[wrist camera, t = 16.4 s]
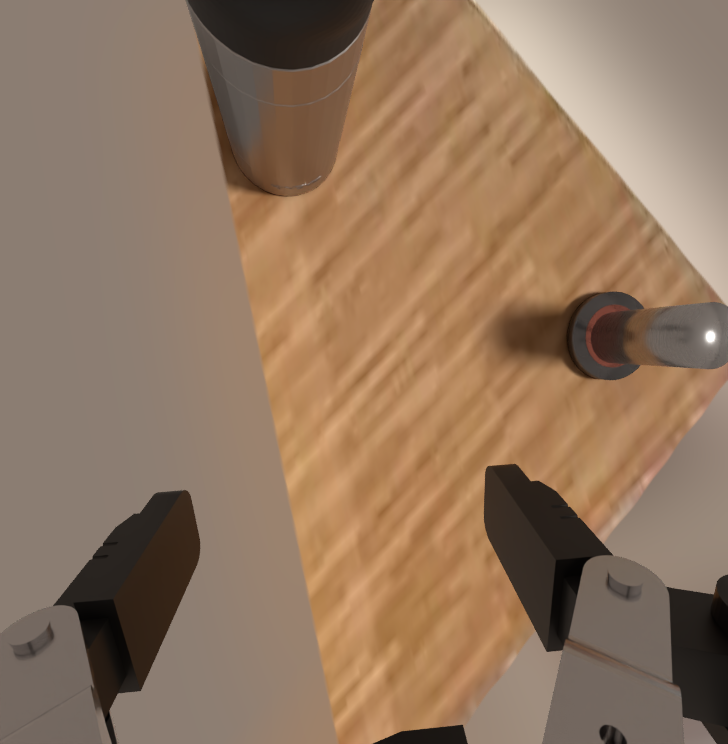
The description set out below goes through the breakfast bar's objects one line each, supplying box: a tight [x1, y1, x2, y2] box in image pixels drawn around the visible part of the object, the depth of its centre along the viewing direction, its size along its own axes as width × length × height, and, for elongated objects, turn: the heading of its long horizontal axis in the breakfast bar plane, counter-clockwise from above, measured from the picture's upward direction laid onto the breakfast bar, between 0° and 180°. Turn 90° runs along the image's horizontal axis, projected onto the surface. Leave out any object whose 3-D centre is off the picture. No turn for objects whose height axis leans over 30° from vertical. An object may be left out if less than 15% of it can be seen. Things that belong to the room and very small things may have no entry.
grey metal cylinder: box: [591, 302, 728, 369], centre depth 37 cm, size 5×5×10 cm
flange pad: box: [567, 292, 644, 380], centre depth 42 cm, size 9×9×1 cm
